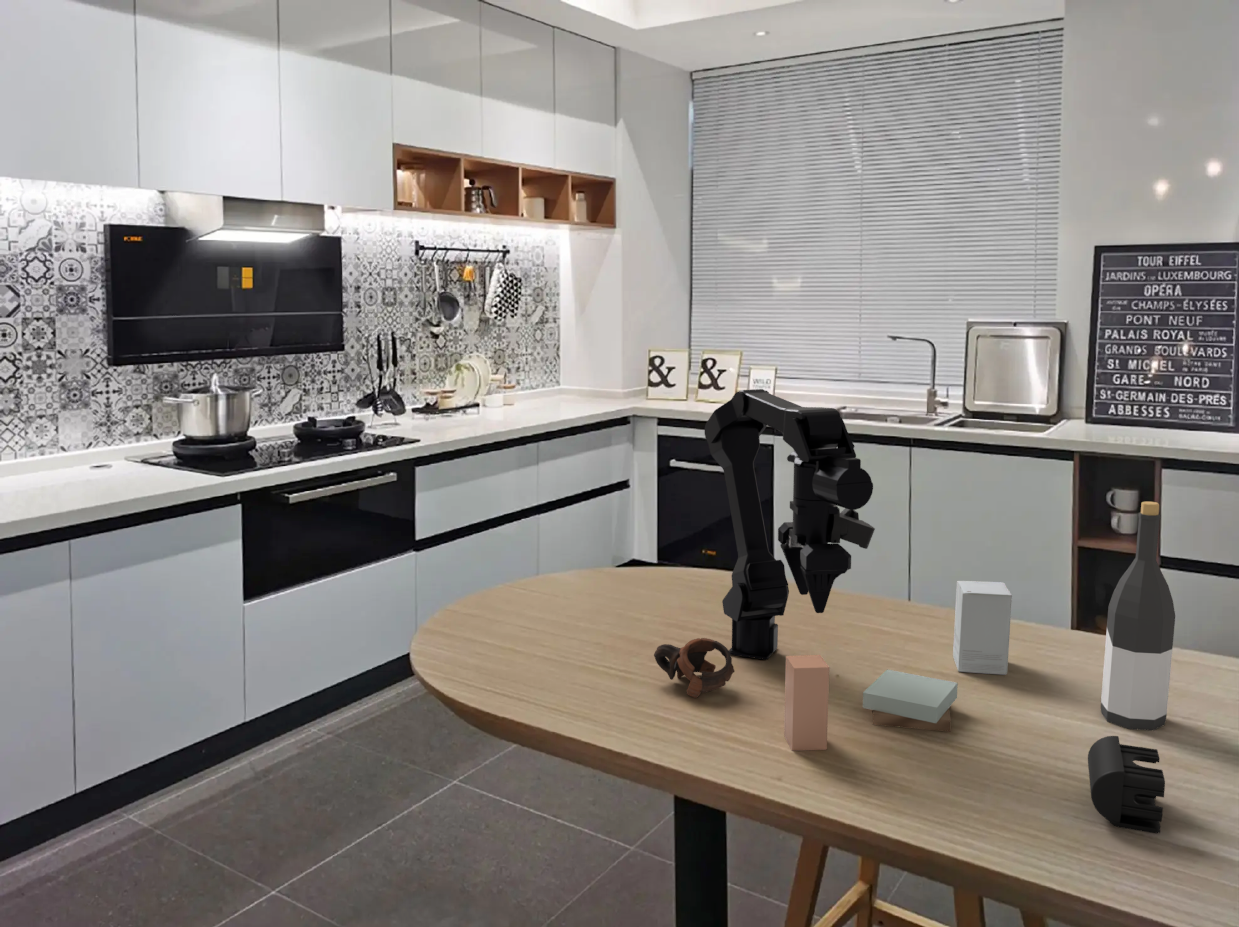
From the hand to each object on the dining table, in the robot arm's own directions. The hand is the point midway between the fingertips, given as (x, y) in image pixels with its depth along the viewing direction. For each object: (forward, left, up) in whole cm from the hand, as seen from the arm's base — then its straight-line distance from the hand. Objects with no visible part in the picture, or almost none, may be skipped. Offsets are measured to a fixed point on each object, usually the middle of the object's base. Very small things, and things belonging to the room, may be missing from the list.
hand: (811, 603), depth 152 cm
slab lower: (+15, -3, -14) cm, 20 cm away
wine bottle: (+43, +7, -13) cm, 45 cm away
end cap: (+41, -21, -13) cm, 48 cm away
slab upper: (+15, -3, -12) cm, 19 cm away
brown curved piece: (-16, -5, -13) cm, 22 cm away
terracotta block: (+4, -18, -13) cm, 23 cm away
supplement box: (+22, +20, -13) cm, 32 cm away
